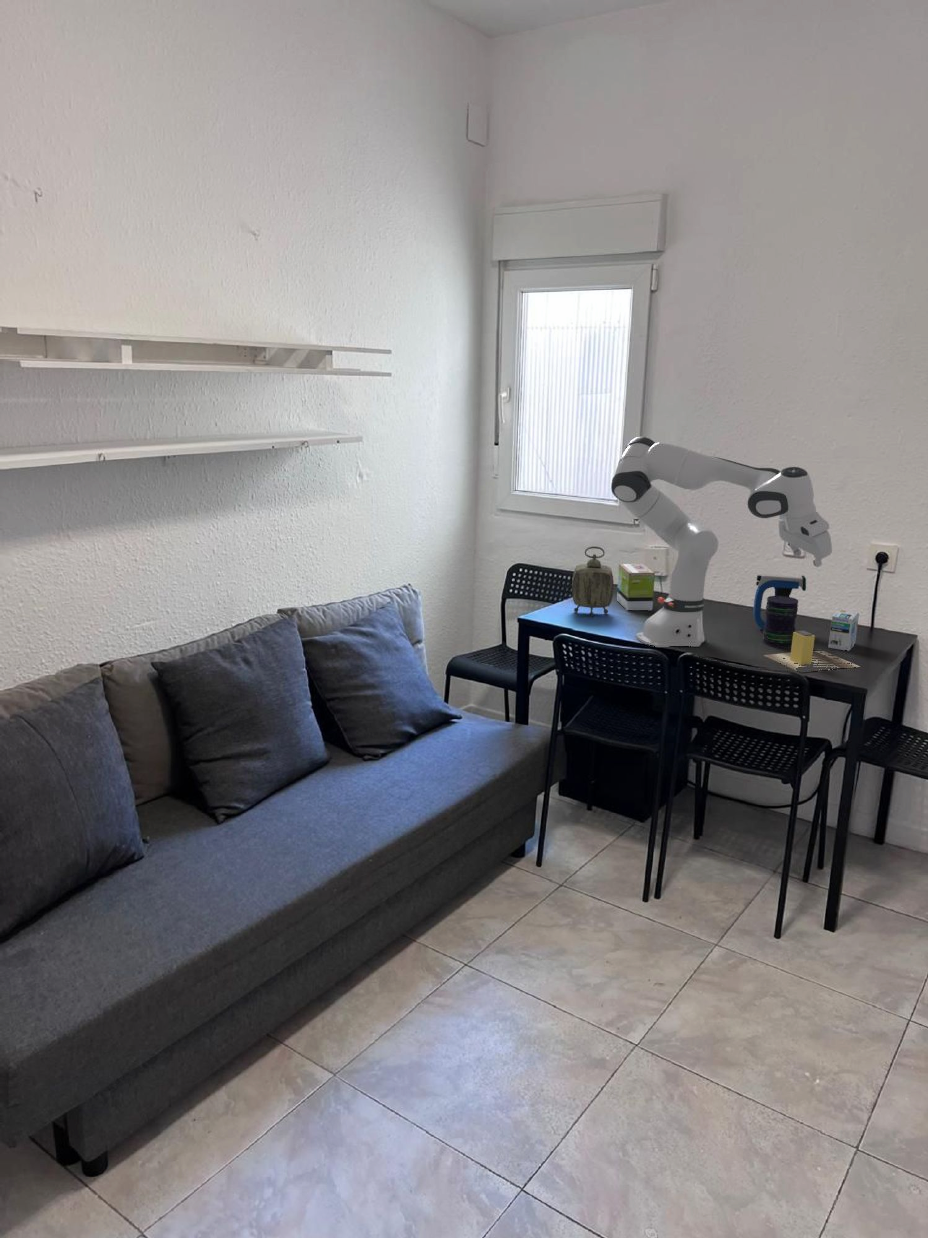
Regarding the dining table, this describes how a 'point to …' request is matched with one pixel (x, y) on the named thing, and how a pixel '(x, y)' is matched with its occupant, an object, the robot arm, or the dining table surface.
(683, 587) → the robot arm
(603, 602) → the tabletop clock
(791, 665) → the plywood sheet
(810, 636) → the yellow rectangular block
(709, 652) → the dining table surface
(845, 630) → the light bulb box
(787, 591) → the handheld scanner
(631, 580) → the tea box
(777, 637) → the storage jar
